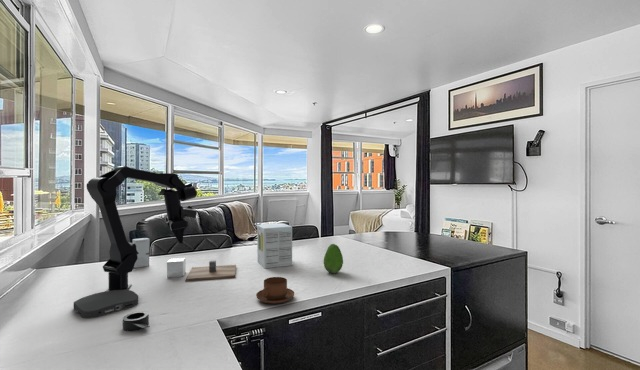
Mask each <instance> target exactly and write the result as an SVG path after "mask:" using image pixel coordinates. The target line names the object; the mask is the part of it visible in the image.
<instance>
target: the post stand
mask: <svg viewBox="0 0 640 370" xmlns="http://www.w3.org/2000/svg"><path fill="white" fill-rule="evenodd" d="M208 265H209V266H208ZM208 265H207V266H195V267H193V266H192V267H191V268H190V270H189V272H188V273H187V275H186V277H185V279H184V280H185V282H195V281H197V282H198V281H208V280H209V281H210V280H212V281H213V280H222V279H223V280H224V279H235V278H236V271H237V265H236V264H228V265H227V264H226V265H217V260H209V262H208Z"/></svg>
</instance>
